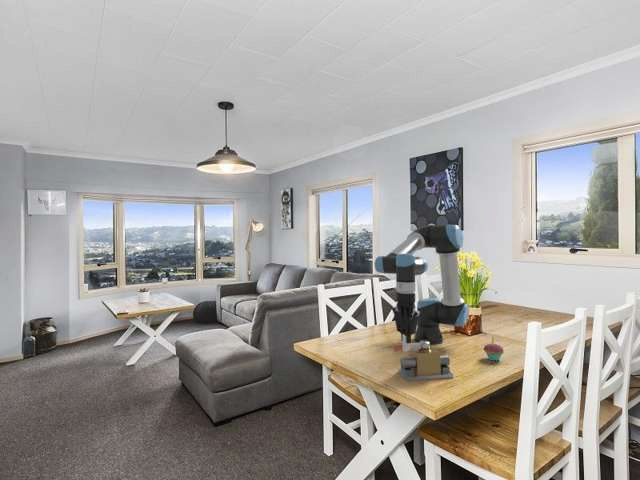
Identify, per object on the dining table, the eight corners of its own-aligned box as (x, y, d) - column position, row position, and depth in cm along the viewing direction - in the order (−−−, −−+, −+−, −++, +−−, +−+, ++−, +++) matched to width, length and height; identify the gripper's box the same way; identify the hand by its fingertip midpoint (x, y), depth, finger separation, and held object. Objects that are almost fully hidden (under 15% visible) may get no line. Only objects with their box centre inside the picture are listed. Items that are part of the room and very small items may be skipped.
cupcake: (502, 363, 163) (502, 337, 163) (482, 360, 167) (482, 334, 167) (504, 358, 170) (504, 332, 170) (484, 355, 175) (484, 330, 175)
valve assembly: (441, 368, 158) (441, 344, 158) (453, 377, 148) (453, 351, 148) (397, 371, 155) (397, 346, 155) (406, 381, 145) (406, 354, 145)
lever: (427, 347, 154) (427, 340, 154) (431, 350, 150) (431, 343, 150) (392, 349, 152) (392, 342, 152) (395, 352, 148) (395, 345, 148)
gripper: (387, 291, 148) (387, 348, 148) (412, 295, 138) (413, 356, 138) (399, 289, 153) (399, 345, 153) (425, 293, 142) (425, 352, 143)
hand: (406, 350), depth 145 cm, fingers closed
